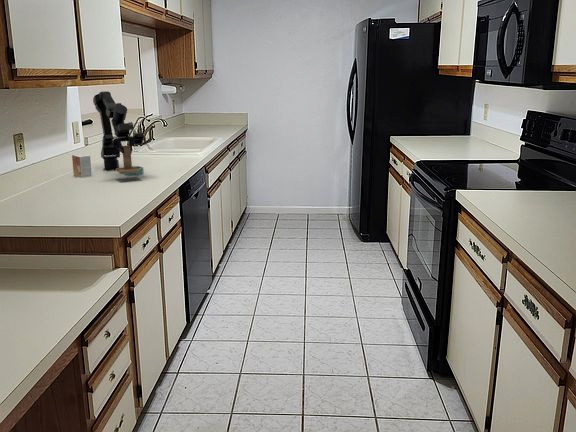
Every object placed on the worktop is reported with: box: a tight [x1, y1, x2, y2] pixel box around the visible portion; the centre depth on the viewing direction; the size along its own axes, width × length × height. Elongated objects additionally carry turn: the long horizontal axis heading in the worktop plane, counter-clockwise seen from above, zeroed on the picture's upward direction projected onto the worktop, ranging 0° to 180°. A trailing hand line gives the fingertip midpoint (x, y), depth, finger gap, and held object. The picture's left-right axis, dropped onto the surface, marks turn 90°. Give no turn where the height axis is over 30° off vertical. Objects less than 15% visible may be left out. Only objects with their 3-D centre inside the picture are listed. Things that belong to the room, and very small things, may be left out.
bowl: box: [123, 165, 145, 177], centre depth 276 cm, size 9×9×4 cm
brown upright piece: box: [115, 145, 141, 175], centre depth 260 cm, size 9×9×12 cm
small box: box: [71, 153, 93, 178], centre depth 271 cm, size 8×6×10 cm
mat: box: [115, 176, 143, 184], centre depth 263 cm, size 10×10×1 cm
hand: (127, 153), depth 258 cm, fingers closed on brown upright piece, 3 cm apart
